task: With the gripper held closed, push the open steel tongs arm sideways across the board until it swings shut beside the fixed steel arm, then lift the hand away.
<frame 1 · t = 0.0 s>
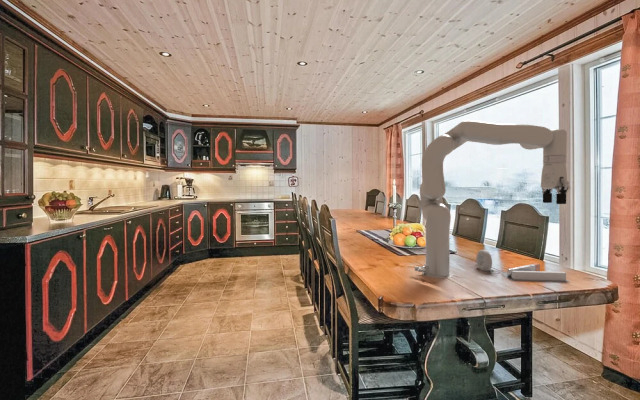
hand: (554, 203, 127), 31 cm above the table, tool pointing down, fingers open, 9 cm apart
tongs arm: (523, 270, 133), point 3 cm above the table, hinge at 35.0°
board: (532, 279, 129), on the table
grey rounded slab: (484, 272, 142), on the table
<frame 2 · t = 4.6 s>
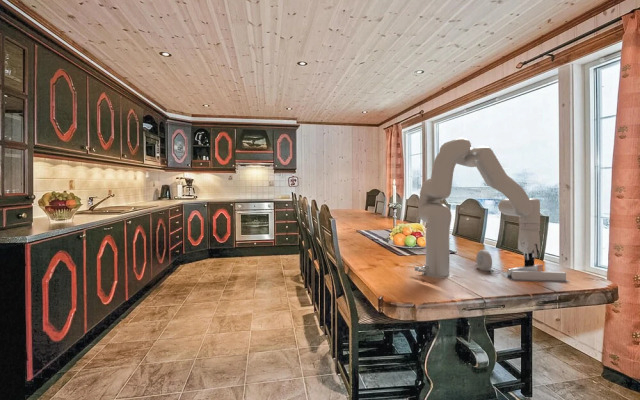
hand: (529, 268, 138), 2 cm above the table, tool pointing down, fingers closed
tongs arm: (524, 270, 132), point 3 cm above the table, hinge at 31.7°, touching gripper
everything else where it was.
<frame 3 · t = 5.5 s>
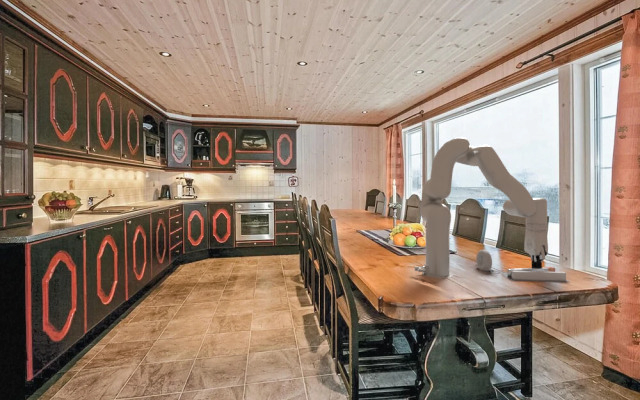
hand: (536, 270, 133), 3 cm above the table, tool pointing down, fingers closed
tongs arm: (530, 272, 130), point 3 cm above the table, hinge at 13.9°, touching gripper
everything else where it was.
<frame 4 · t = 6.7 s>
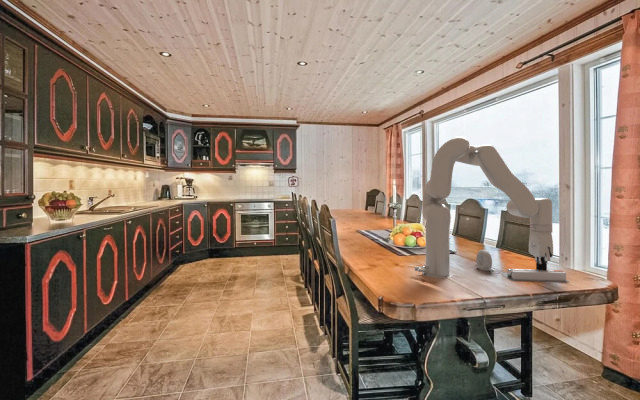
hand: (541, 272, 129), 3 cm above the table, tool pointing down, fingers closed
tongs arm: (534, 273, 127), point 3 cm above the table, hinge at -1.1°, touching gripper
everything else where it was.
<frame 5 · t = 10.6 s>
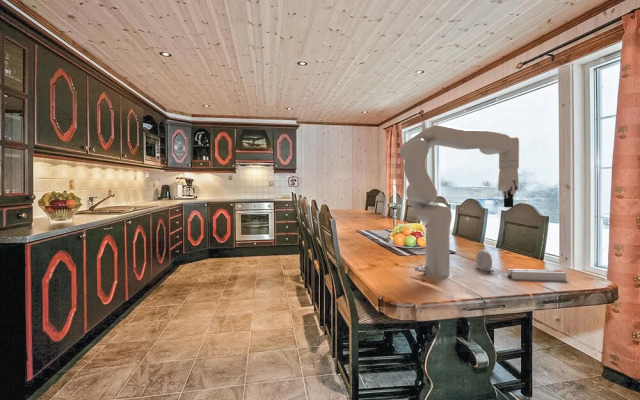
hand: (508, 207, 139), 29 cm above the table, tool pointing down, fingers closed
tongs arm: (534, 273, 127), point 3 cm above the table, hinge at -0.8°
everything else where it was.
at the end: tongs arm at -1° (first picture: +35°); grey rounded slab moved 0.2 cm from its start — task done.
